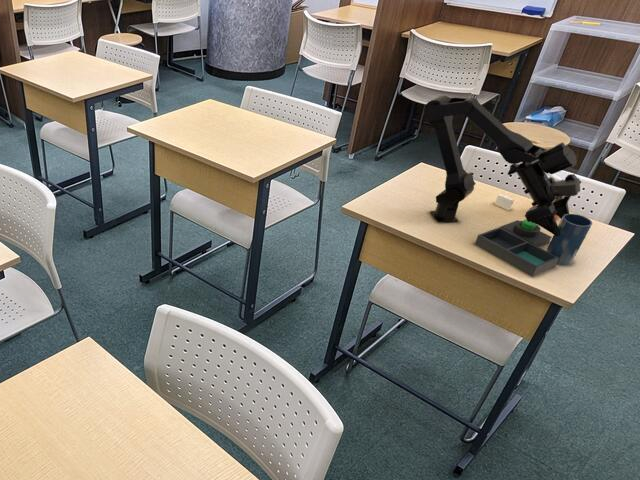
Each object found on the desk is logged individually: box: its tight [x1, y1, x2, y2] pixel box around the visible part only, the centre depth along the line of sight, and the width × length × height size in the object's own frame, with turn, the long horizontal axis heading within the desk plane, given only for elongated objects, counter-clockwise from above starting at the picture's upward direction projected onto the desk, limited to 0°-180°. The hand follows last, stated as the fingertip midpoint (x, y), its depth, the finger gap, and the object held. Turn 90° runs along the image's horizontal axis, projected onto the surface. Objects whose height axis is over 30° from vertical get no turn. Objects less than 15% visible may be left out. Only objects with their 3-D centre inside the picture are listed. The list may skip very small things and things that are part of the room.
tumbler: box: [545, 213, 593, 266], centre depth 153 cm, size 7×7×13 cm
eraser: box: [494, 193, 515, 211], centre depth 180 cm, size 1×5×4 cm, turn 32°
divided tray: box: [474, 226, 559, 278], centre depth 157 cm, size 18×10×3 cm, turn 26°
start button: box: [521, 218, 537, 230], centre depth 163 cm, size 4×4×2 cm
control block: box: [499, 220, 552, 248], centre depth 165 cm, size 11×8×4 cm
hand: (563, 229), depth 152 cm, fingers open, 9 cm apart
